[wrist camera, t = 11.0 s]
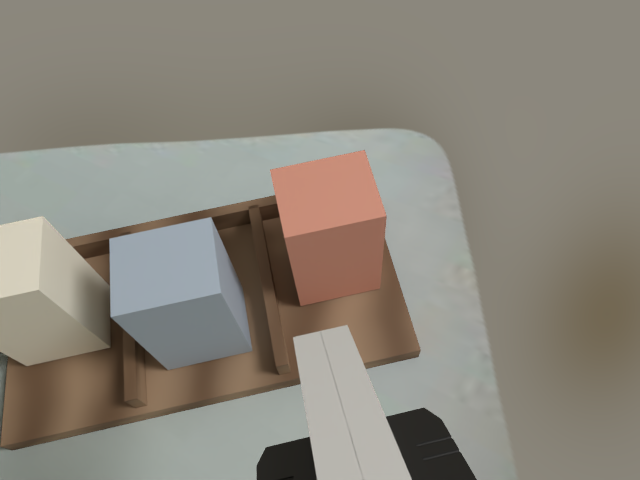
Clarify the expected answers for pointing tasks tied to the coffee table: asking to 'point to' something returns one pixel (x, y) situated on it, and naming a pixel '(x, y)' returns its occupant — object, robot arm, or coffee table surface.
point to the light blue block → (178, 294)
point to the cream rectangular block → (48, 296)
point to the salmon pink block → (331, 226)
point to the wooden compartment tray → (211, 376)
